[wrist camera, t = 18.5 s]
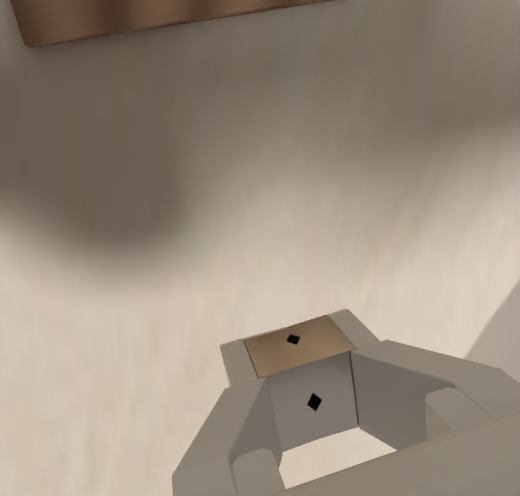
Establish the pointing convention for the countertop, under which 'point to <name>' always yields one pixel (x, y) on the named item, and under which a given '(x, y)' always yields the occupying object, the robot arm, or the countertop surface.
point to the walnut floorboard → (122, 15)
